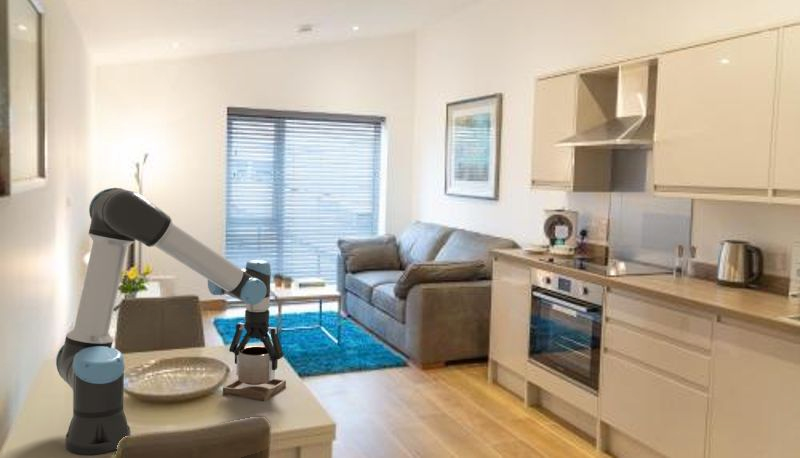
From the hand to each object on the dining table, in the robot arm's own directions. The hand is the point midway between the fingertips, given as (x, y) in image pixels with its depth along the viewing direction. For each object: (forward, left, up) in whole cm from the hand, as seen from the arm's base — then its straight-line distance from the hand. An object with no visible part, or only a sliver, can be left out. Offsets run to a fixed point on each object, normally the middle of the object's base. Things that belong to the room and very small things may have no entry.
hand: (255, 376), depth 210 cm
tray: (0, 0, -4) cm, 4 cm away
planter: (0, 0, -1) cm, 1 cm away
